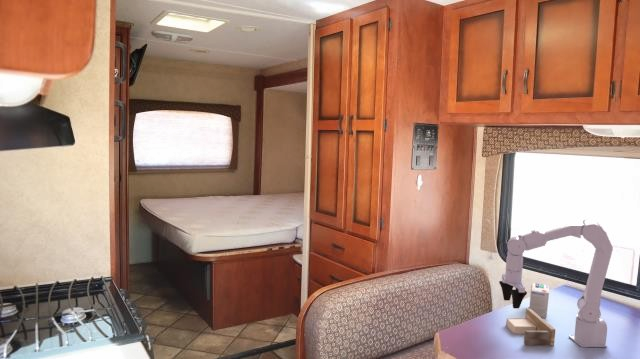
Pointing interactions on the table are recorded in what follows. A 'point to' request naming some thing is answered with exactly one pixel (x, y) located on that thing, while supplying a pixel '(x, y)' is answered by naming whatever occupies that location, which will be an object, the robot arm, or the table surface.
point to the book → (520, 325)
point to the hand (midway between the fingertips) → (511, 304)
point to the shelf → (538, 331)
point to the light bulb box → (539, 299)
